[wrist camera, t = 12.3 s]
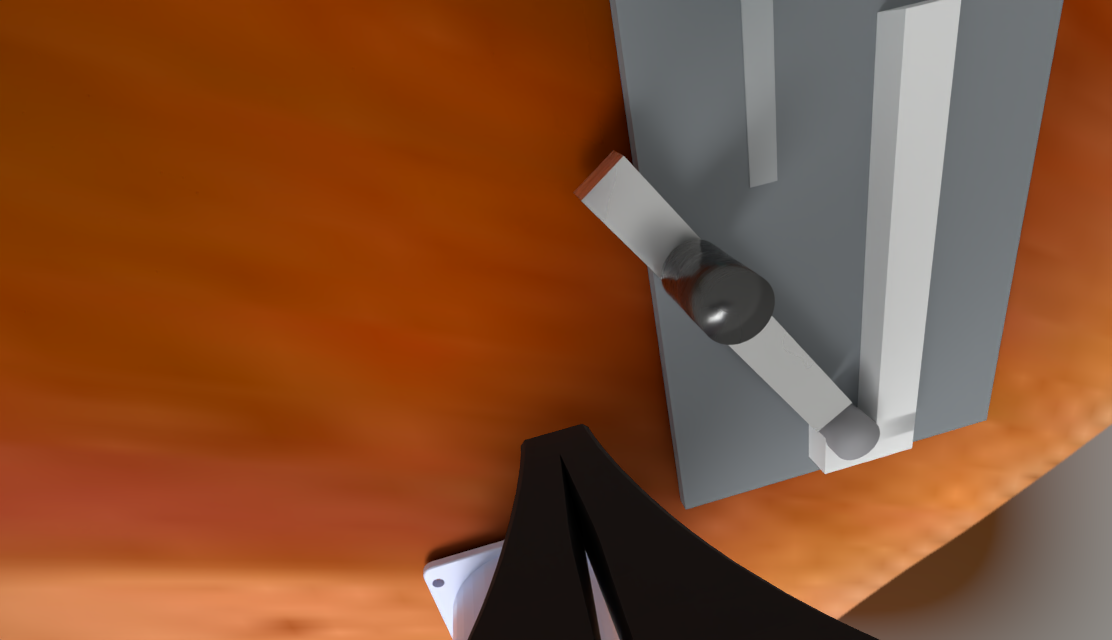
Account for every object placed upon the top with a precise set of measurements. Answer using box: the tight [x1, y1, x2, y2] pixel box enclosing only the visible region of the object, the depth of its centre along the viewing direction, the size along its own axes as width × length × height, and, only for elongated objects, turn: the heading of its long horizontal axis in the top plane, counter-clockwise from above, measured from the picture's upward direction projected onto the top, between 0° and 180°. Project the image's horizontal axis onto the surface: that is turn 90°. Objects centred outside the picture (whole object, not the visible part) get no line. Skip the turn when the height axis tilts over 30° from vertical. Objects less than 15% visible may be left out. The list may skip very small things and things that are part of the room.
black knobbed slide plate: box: [573, 151, 852, 432], centre depth 18 cm, size 14×2×4 cm, turn 46°
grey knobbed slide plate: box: [610, 0, 1063, 509], centre depth 19 cm, size 25×15×2 cm, turn 12°
